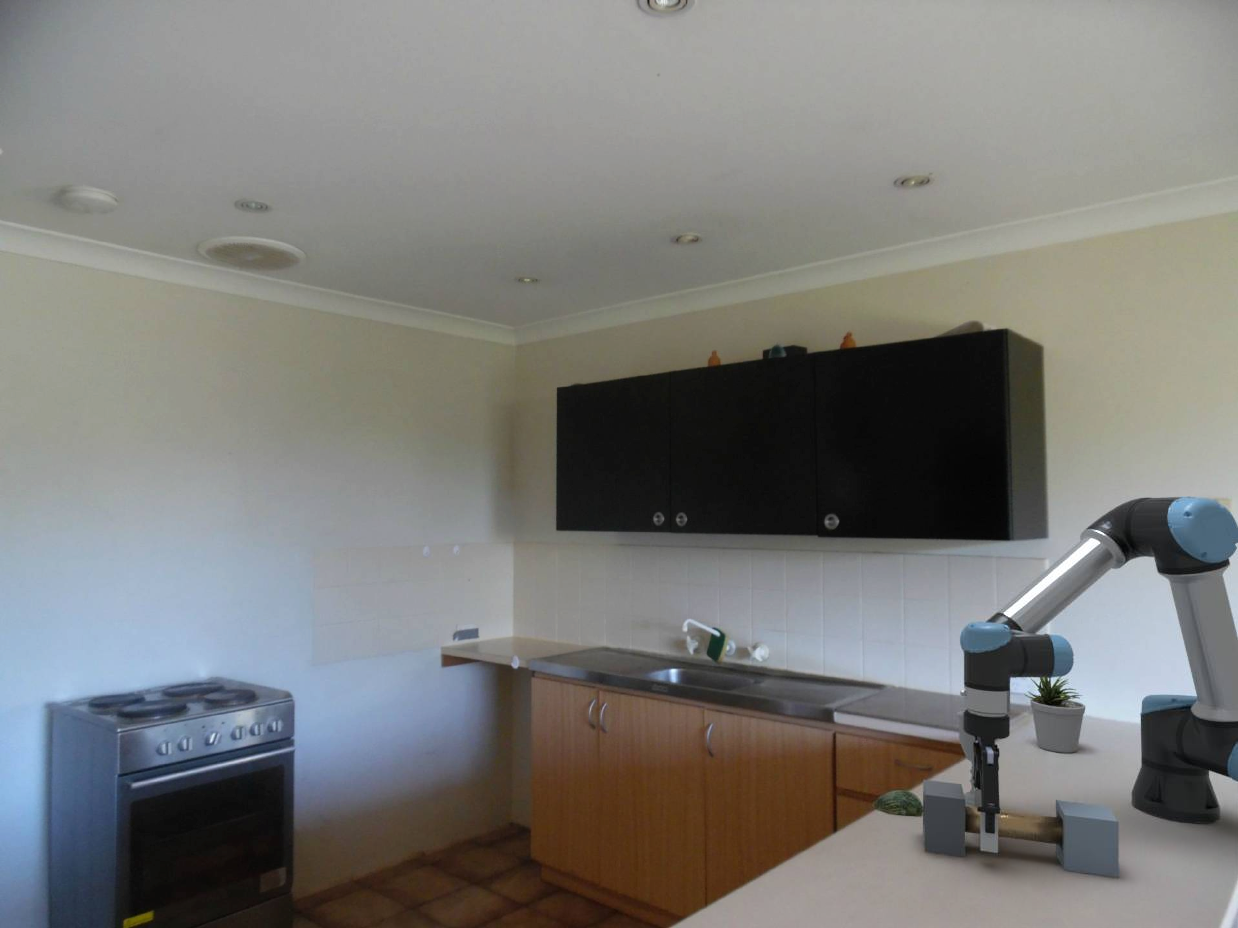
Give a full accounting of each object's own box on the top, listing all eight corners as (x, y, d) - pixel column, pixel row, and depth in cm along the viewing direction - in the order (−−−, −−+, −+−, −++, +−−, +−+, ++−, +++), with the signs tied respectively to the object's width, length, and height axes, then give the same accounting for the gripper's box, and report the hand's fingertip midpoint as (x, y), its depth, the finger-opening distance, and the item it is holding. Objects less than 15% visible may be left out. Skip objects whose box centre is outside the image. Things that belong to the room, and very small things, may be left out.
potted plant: (1030, 738, 230) (1030, 662, 231) (1088, 748, 222) (1088, 669, 223) (1020, 748, 220) (1020, 668, 221) (1081, 758, 212) (1081, 676, 213)
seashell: (899, 777, 179) (936, 793, 170) (899, 797, 179) (937, 814, 170) (861, 787, 174) (898, 803, 165) (862, 807, 174) (899, 825, 165)
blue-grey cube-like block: (1106, 859, 149) (1107, 805, 149) (1118, 877, 141) (1118, 821, 142) (1055, 852, 151) (1055, 799, 152) (1064, 869, 144) (1064, 814, 144)
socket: (960, 838, 156) (961, 783, 157) (964, 857, 148) (965, 799, 148) (922, 833, 158) (923, 779, 159) (924, 851, 150) (925, 794, 150)
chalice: (995, 813, 170) (996, 720, 171) (959, 809, 172) (960, 718, 173) (987, 801, 178) (988, 712, 179) (952, 797, 179) (953, 709, 180)
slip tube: (1069, 840, 149) (1069, 815, 149) (1074, 850, 145) (1074, 823, 145) (932, 823, 156) (932, 798, 156) (933, 831, 152) (934, 806, 152)
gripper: (958, 696, 165) (957, 813, 164) (969, 724, 142) (968, 860, 141) (1001, 700, 162) (1000, 818, 161) (1019, 729, 140) (1018, 867, 139)
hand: (985, 838), depth 151 cm, fingers open, 11 cm apart
